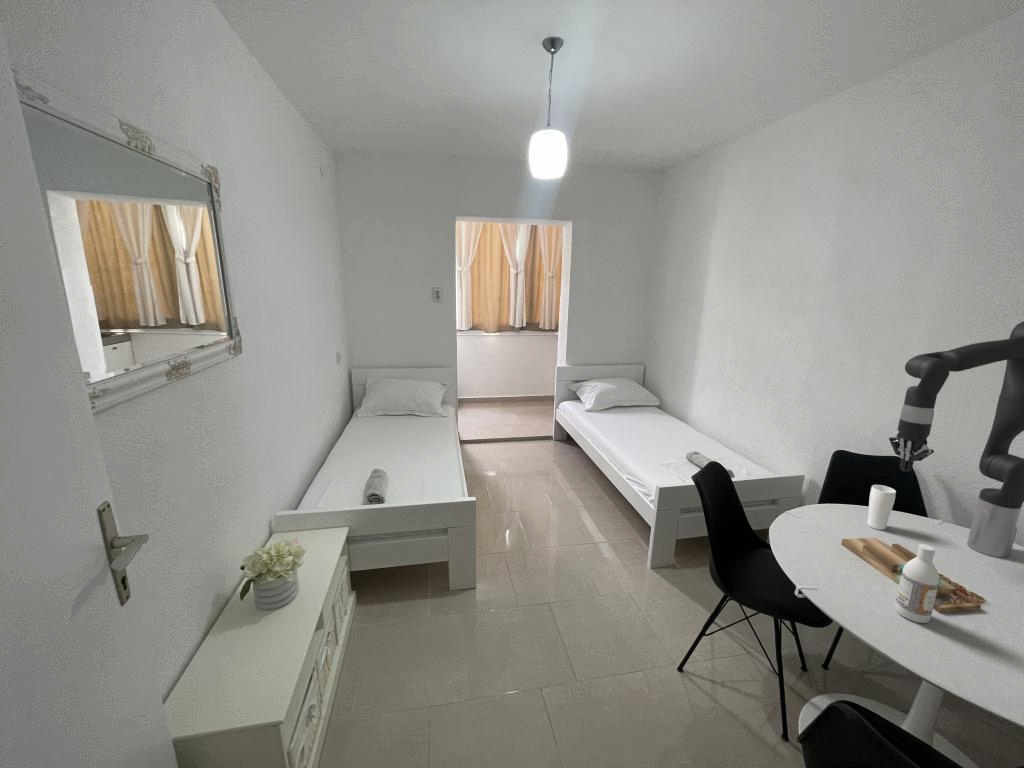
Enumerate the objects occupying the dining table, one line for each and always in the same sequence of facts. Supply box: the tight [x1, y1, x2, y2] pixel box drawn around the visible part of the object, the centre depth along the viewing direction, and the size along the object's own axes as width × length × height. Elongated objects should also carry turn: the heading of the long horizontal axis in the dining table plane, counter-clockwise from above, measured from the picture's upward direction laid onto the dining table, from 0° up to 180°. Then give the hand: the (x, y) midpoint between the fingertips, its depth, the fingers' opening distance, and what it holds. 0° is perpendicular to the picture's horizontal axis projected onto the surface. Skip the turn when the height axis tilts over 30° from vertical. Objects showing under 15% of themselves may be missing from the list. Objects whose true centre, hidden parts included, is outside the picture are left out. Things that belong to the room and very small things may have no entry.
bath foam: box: [894, 543, 939, 624], centre depth 112 cm, size 7×7×20 cm
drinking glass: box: [866, 484, 897, 531], centre depth 154 cm, size 7×7×15 cm
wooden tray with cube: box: [841, 537, 982, 614], centre depth 130 cm, size 12×32×4 cm, turn 5°
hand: (905, 470), depth 139 cm, fingers closed
